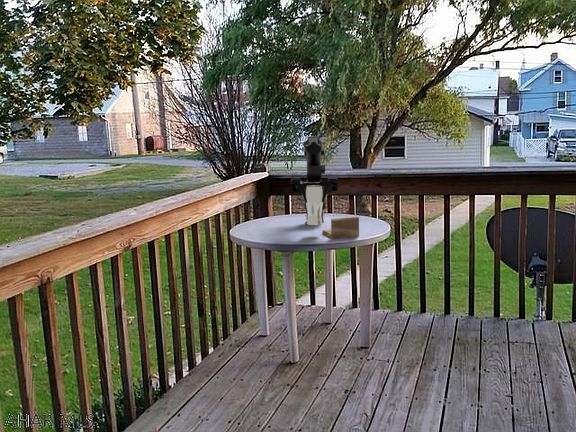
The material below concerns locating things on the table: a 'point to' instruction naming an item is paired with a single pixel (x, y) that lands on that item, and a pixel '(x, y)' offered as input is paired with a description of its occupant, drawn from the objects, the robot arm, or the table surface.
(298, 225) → the table surface
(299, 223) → the table surface
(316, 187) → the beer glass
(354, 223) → the cleat board
